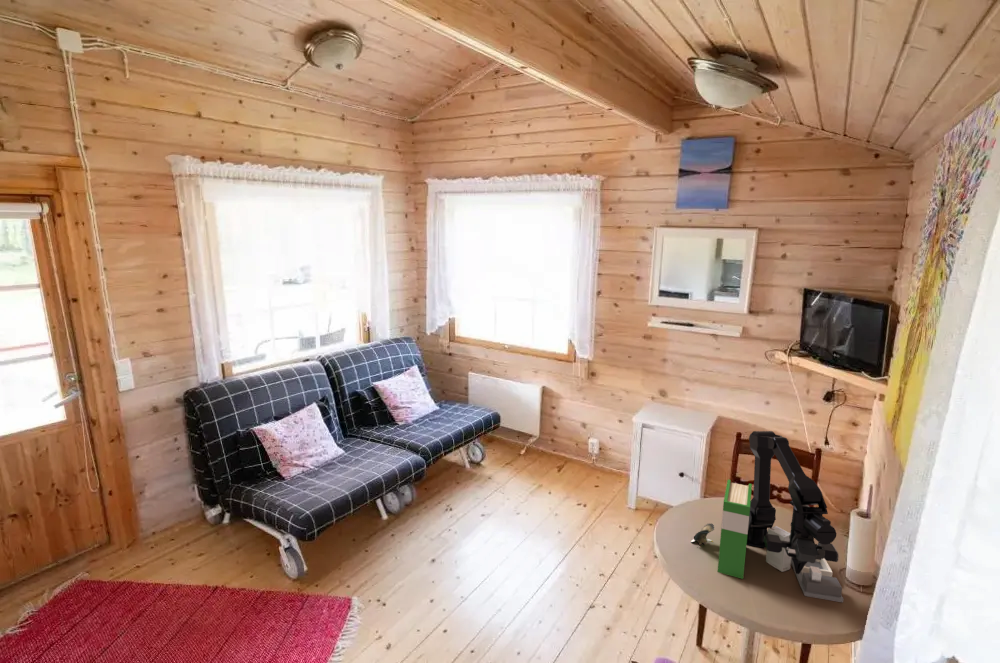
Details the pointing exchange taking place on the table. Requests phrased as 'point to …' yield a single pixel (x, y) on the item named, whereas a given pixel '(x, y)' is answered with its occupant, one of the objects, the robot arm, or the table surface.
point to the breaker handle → (815, 574)
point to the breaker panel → (825, 588)
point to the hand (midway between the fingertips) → (796, 573)
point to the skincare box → (781, 558)
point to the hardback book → (734, 529)
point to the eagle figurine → (703, 535)
